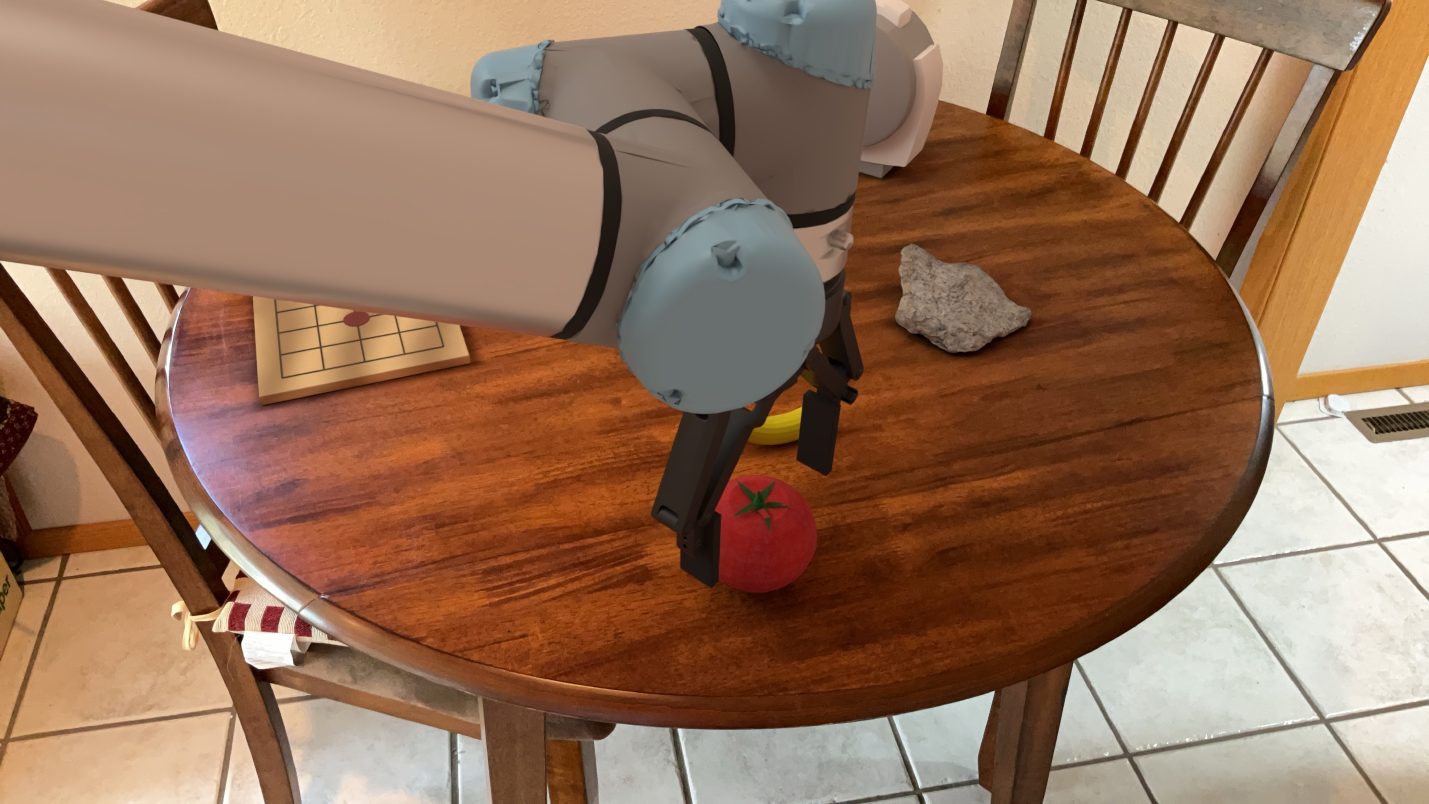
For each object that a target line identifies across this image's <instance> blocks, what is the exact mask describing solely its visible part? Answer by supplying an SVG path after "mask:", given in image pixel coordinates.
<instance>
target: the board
mask: <svg viewBox="0 0 1429 804" xmlns="http://www.w3.org/2000/svg"><path fill="white" fill-rule="evenodd" d="M252 305H253V306H252V307H253V321H254V339H255V340H254V341H255V354H256V370H257V371H256V372H257V387H258V398H259V401H260V404H261V405H262V406H265V405H270V404H275V403H280V402H284V401H291V400H295V399H300V398H304V397H311V396H314V395H320V394H325V393H330V392H335V391H339V390H340V391H341V390H344V389H350V388H354V387H355V388H356V387H359V386H365V385H369V384H374V383H381V382H384V381H391V380H393V379H399V378H403V377H409V376H414V375H419V374H424V373H429V372H435V371H438V370H445V369H448V368H455V367H459V366H463V365H464V366H465V365H469V364H471V357H470V352H469V349H468V347H467V343H466V340H465V337H464V335H463V332H462V328H461V325H455V324H448V323H441V322H434V321H427V320H419V319H412V318H405V317H398V316H391V315H384V314H377V313H369V312H362V311H355V310H348V309H341V308H334V307H327V306H320V305H312V304H305V303H298V302H291V301H284V300H277V299H270V298H262V297H255V296H252Z"/></svg>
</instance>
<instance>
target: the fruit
mask: <svg viewBox="0 0 1429 804" xmlns="http://www.w3.org/2000/svg"><path fill="white" fill-rule="evenodd" d="M801 412H802V406H800V407H798V408H796V409H793V410H791V411H789V412H784V413H781V414H775V415H768V417H767V419H766V421H765V423H764V425H763V426H761V427H758V428H755V429H753V431H752V433H751V435H750V437H749V439H748V442H747V443H751V444H755V445H761V446H774V445H782V444H783V445H784V444H788V443H791V442H795V441H798V439H799V430H800V421H801Z"/></svg>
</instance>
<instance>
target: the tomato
mask: <svg viewBox="0 0 1429 804" xmlns="http://www.w3.org/2000/svg"><path fill="white" fill-rule="evenodd" d="M715 511H716V512H718V513H720V514H721V538H720V562H719V581H720V582H722V583H723V584H725V585H726V586H728V587H730V588H732V589H735V590H737V591H741V592H745V593H751V594H760V593H761V594H763V593H768V592H773V591H775V590H779V589H781V588H783V587H785V586H788V585H789V584H791V583H792V582H794V581H796V580H797V579H799V577H800V576H802V575H803V574H804V572H805V570H806V569H807V568H808V566H809V565H810V562H811V561H812V559H813V557H814V555H815V552H816V549H817V545H818V544H817V543H818V528H817V523H816V519H815V516H814V513H813V510H812V509H811V507H810V505H809V503H808V502H807V501H806V499H805V498H804V497H803V495H802V494H801V493H800V492H799V491H798V490H797V489H796V488H794V487H793V486H791V485H790V484H788V483H787V482H786V481H784V480H781V479H779V478H776V477H774V476H770V475H766V474H746V475H741V476H739V477H735V478H731V479H730V480H729V482H728V484H727V486H726V488H725V490H724V492H723V494H722V496H721V499H720V501H719V503H718V505H717V507H716V509H715Z"/></svg>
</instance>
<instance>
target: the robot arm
mask: <svg viewBox="0 0 1429 804" xmlns="http://www.w3.org/2000/svg"><path fill="white" fill-rule="evenodd" d="M876 18H877V7H876V1H875V0H720V6H719V7H718V8H717V21H716V22H714V23H710V24H709V23H708V24H700V25H696V26H695V27H693V28H684V29H676V30H667V31H656V32H645V33H635V34H634V33H633V34H624V35H614V36H604V37H593V38H582V39H572V40H563V41H561V40H560V41H555V39H543V40H542V41H540V42H539V43H535V44H530V45H529V44H528V45H525V46H524V45H523V46H518V47H514V48H508V49H503V50H497V51H491V52H489V53H486V54H484V55H482V56H481V57H480V58H478V59H477V61H475V65H474V66H473V68H472V70H471V74H470V81H469V82H470V88H469V89H470V96H467V95H463V94H459V93H455V92H451V91H448V90H445V89H441V88H437V87H433V86H430V85H426V84H422V83H417V82H414V81H411V80H406V79H403V78H398V77H394V76H392V75H388V74H384V73H380V72H376V71H374V70H373V71H372V70H369V69H365V68H361V67H357V66H353V65H350V64H347V63H343V62H339V61H336V60H335V61H334V60H331V59H327V58H323V57H319V56H316V55H312V54H308V53H304V52H301V51H297V50H293V49H290V48H285V47H283V46H278V45H274V44H271V43H267V42H263V41H260V40H256V39H252V38H248V37H244V36H240V35H237V34H234V33H229V32H225V31H221V30H218V29H214V28H210V27H207V26H202V25H199V24H195V23H191V22H188V21H184V20H180V19H177V18H172V17H169V16H165V15H161V14H158V13H154V12H149V11H146V10H143V9H138V8H134V7H131V6H128V5H123V4H120V3H116V2H112V1H109V0H0V262H7V263H13V264H14V263H15V264H21V265H27V266H33V267H40V268H41V267H42V268H50V269H56V270H64V271H71V272H78V273H84V274H93V275H98V276H99V275H100V276H105V277H114V278H121V279H128V280H134V281H135V280H136V281H141V282H150V283H157V284H162V285H170V286H178V287H184V288H193V289H199V290H207V291H212V292H220V293H228V294H234V295H240V296H241V295H242V296H249V297H253V296H255V297H262V298H270V299H277V300H284V301H291V302H298V303H305V304H312V305H320V306H327V307H334V308H341V309H348V310H355V311H362V312H369V313H377V314H384V315H391V316H398V317H405V318H412V319H419V320H427V321H434V322H441V323H448V324H455V325H460V326H464V327H470V328H479V329H484V330H491V331H498V332H504V333H505V332H506V333H511V334H520V335H527V336H535V337H542V338H549V339H556V340H562V341H567V342H571V343H575V344H582V345H590V346H599V347H605V348H610V349H611V348H612V349H616V350H618V352H619V353H618V354H619V357H620V359H621V361H622V362H623V363H625V365H626V368H627V371H629V373H631V374H632V375H633V376H634V377H636V378H637V379H638V381H639V382H640V384H641V386H643V388H645V390H647V392H649V393H650V395H652V396H653V397H654V398H655V399H657V400H659V401H661V402H663V403H664V404H666V405H669V407H670V408H672V409H675V410H677V411H681V412H682V415H681V419H680V421H679V424H678V427H677V431H676V434H675V437H674V440H673V442H672V445H671V449H670V452H669V454H668V458H667V462H666V465H665V468H664V471H663V474H662V476H661V480H660V484H659V486H658V490H657V492H656V495H655V499H654V502H653V505H652V507H651V511H650V517H651V518H652V519H654V520H656V522H659V523H660V524H662V525H663V526H664V527H666V528H668V529H670V530H671V531H673V532H674V533H676V546H677V548H678V549H679V552H680V553H679V555H680V556H679V569H681V570H682V571H684V573H687V574H688V575H690V576H692V577H693V578H694V579H696V580H697V581H699V582H701V583H702V584H704V585H705V586H706V587H708V588H709V589H711V590H712V589H713V588H714V587H715V586H716V585H717V584H718V583H719V581H720V580H719V562H720V538H721V514H720V513H718V512H716V511H715V509H716V507H717V505H718V503H719V501H720V499H721V496H722V494H723V492H724V490H725V488H726V486H727V484H728V482H729V480H731V478H732V475H733V474H734V471H735V469H736V467H737V465H738V463H739V460H740V458H741V456H742V454H743V452H744V449H745V447H746V446H747V444H748V443H749V442H748V439H749V437H750V435H751V433H752V431H753V429H755V428H758V427H761V426H763V425H764V423H765V421H766V419H767V417H768V416H770V412H771V411H772V408H773V407H774V404H775V402H776V401H777V400H778V399H779V397H781V395H782V394H783V393H784V392H785V391H787V390H789V389H791V388H792V387H793V386H795V385H796V384H797V383H798V381H799V380H798V379H799V377H800V376H801V378H802V379H803V380H805V381H806V383H808V384H809V385H810V386H811V387H813V388H814V389H816V391H814V390H812V389H810V388H809V389H807V390H806V391H805V392H804V393H803V395H802V404H801V407H802V412H801V421H800V430H799V439H798V440H797V450H796V458H795V460H796V461H797V462H799V463H801V464H803V465H804V466H806V467H808V468H810V469H812V470H813V471H815V472H817V473H819V474H821V475H823V476H824V477H827V476H828V475H830V473H832V471H833V464H834V457H835V451H836V443H837V438H838V437H837V436H838V431H839V430H838V429H839V423H840V415H841V409H842V404H841V402H843V403H845V404H847V405H849V406H851V405H853V404H854V403H855V401H856V400H857V398H858V395H859V390H858V389H857V388H855V387H853V386H851V385H850V384H849V382H850V381H851V380H852V381H855V382H858V381H859V380H860V378H861V377H862V376H863V374H864V370H865V367H864V363H863V359H862V355H861V352H860V348H859V344H858V343H859V342H858V340H857V336H856V332H855V328H854V325H853V320H852V317H851V312H852V311H851V309H852V299H853V298H852V297H853V294H852V292H851V291H850V290H847V289H845V284H846V269H845V267H846V263H847V261H848V253H849V250H850V249H852V246H853V244H854V236H853V234H851V230H852V223H853V214H854V202H855V200H856V192H857V188H858V181H859V174H860V172H859V168H860V161H861V154H862V147H863V140H864V132H865V125H866V118H867V111H868V104H869V97H870V90H871V87H872V86H873V85H874V80H875V75H874V63H875V47H876V36H877V33H876V32H877V29H876ZM818 346H819V347H818ZM752 404H755V405H754V407H753V408H752V410H751V409H749V408H747V406H750V405H752Z"/></svg>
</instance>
